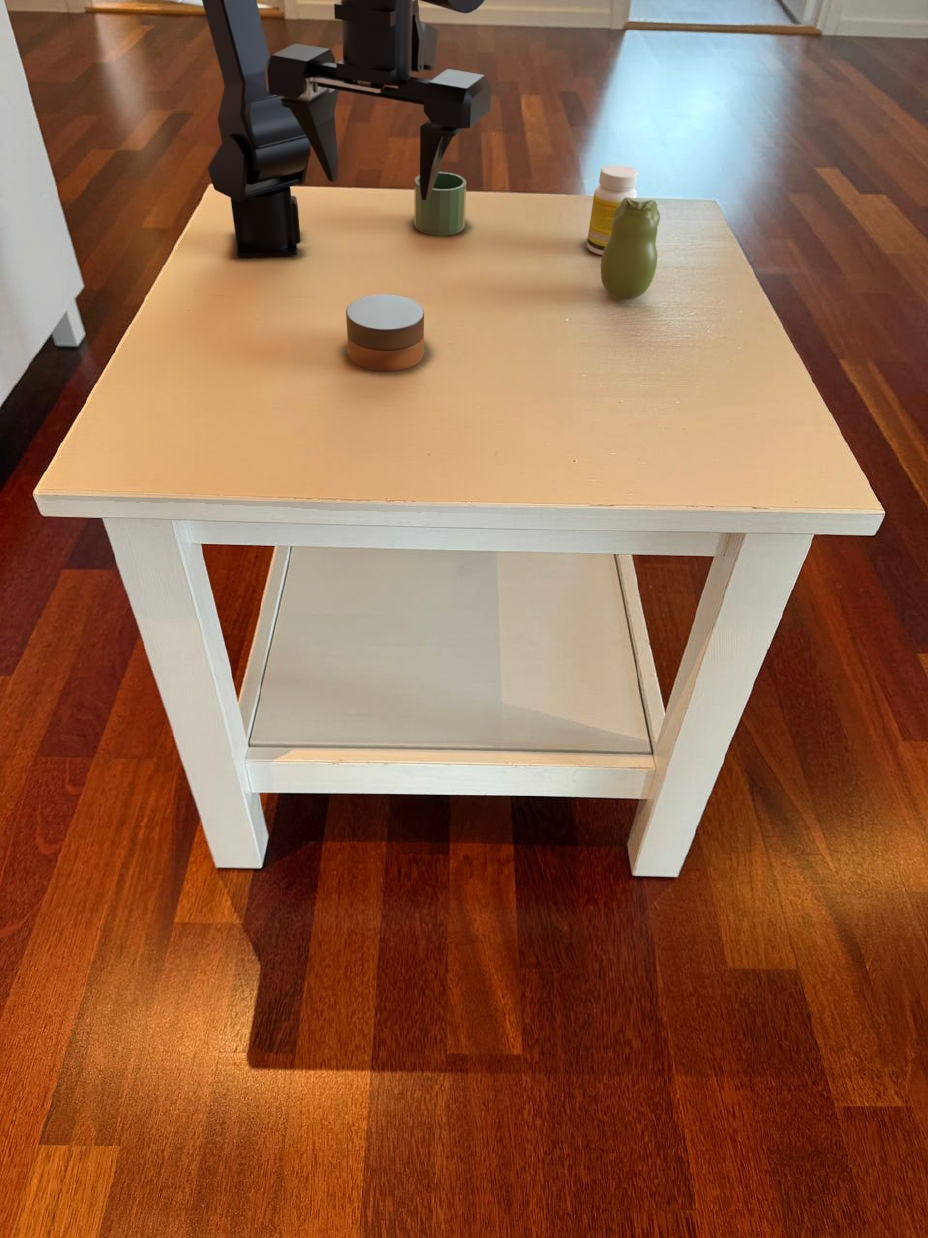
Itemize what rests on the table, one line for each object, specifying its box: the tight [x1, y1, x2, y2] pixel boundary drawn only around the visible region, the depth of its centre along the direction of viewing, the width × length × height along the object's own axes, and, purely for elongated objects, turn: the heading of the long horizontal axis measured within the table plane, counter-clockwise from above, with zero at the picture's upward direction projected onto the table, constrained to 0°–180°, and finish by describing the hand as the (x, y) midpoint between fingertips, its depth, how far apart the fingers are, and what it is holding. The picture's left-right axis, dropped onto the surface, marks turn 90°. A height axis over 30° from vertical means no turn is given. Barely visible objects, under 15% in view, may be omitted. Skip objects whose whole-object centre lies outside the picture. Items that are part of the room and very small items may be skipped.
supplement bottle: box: [586, 164, 639, 256], centre depth 101 cm, size 5×5×8 cm
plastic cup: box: [413, 171, 468, 237], centre depth 105 cm, size 6×6×5 cm
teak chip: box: [346, 333, 425, 372], centre depth 84 cm, size 7×7×2 cm
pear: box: [600, 197, 661, 301], centre depth 92 cm, size 6×5×10 cm
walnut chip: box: [345, 293, 425, 350], centre depth 83 cm, size 7×7×2 cm
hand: (378, 189), depth 84 cm, fingers open, 9 cm apart
